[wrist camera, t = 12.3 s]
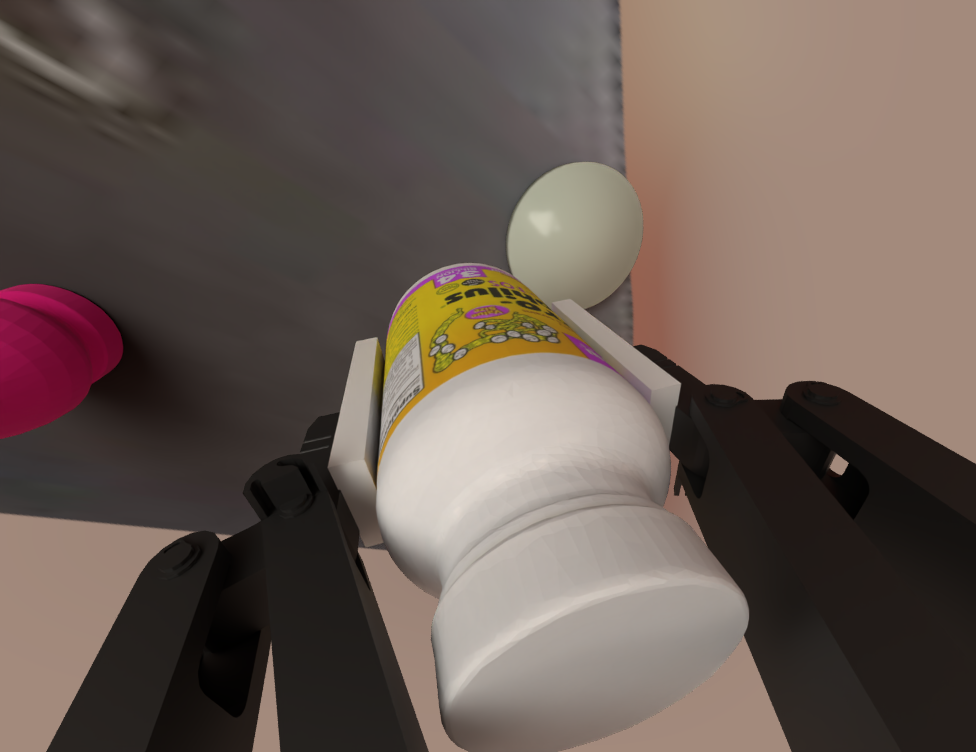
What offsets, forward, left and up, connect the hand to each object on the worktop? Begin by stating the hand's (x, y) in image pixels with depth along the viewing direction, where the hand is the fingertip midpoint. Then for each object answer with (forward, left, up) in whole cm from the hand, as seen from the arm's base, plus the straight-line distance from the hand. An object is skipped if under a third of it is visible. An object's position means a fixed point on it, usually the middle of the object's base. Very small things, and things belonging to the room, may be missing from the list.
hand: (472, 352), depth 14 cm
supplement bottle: (0, 0, -2) cm, 2 cm away
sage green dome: (0, +10, -13) cm, 17 cm away
